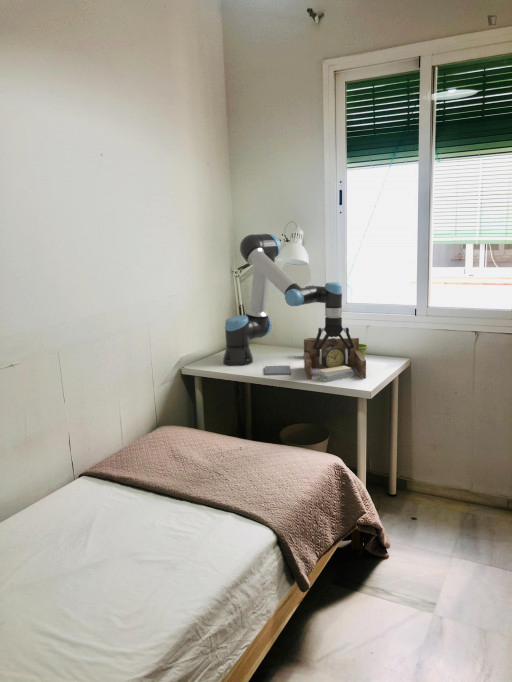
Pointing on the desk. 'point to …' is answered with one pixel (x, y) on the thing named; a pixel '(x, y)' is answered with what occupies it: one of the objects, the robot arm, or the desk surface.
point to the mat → (277, 370)
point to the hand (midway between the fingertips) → (333, 363)
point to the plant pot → (362, 349)
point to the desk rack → (355, 356)
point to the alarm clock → (333, 357)
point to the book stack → (335, 373)
